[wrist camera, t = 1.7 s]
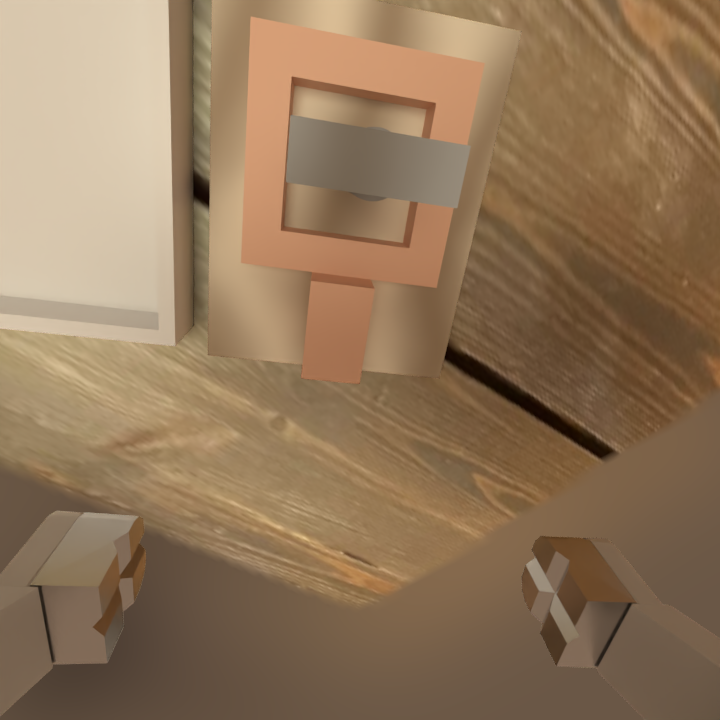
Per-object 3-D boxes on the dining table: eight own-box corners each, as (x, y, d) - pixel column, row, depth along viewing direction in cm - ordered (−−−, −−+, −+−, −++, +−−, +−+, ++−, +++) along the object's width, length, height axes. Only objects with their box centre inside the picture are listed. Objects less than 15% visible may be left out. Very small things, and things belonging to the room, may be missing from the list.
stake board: (509, 40, 21) (729, -122, 10) (433, 368, 28) (511, 503, 17) (220, -20, 20) (69, -305, 8) (213, 345, 26) (127, 478, 15)
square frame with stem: (470, 73, 21) (502, 50, 17) (411, 360, 26) (425, 390, 23) (257, 31, 19) (242, -3, 16) (243, 342, 25) (229, 371, 21)
